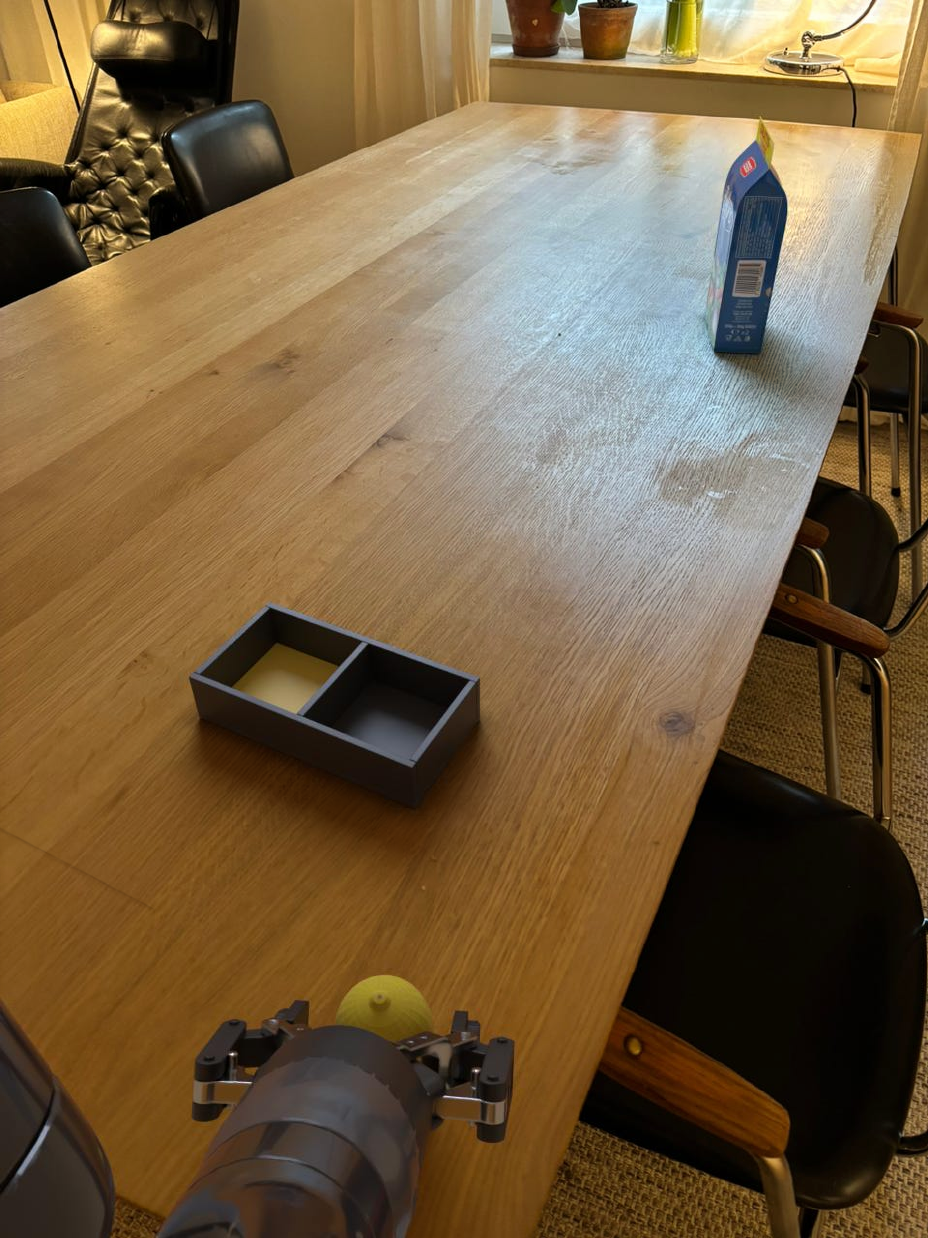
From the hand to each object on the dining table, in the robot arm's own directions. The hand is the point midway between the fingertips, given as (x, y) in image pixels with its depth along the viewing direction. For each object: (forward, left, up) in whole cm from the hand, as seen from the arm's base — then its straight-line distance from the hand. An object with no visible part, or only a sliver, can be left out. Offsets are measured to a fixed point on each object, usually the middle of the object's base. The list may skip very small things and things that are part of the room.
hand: (380, 1024), depth 53 cm
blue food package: (+105, +11, -6) cm, 106 cm away
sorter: (+22, +18, -6) cm, 30 cm away
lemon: (0, 0, -6) cm, 6 cm away
